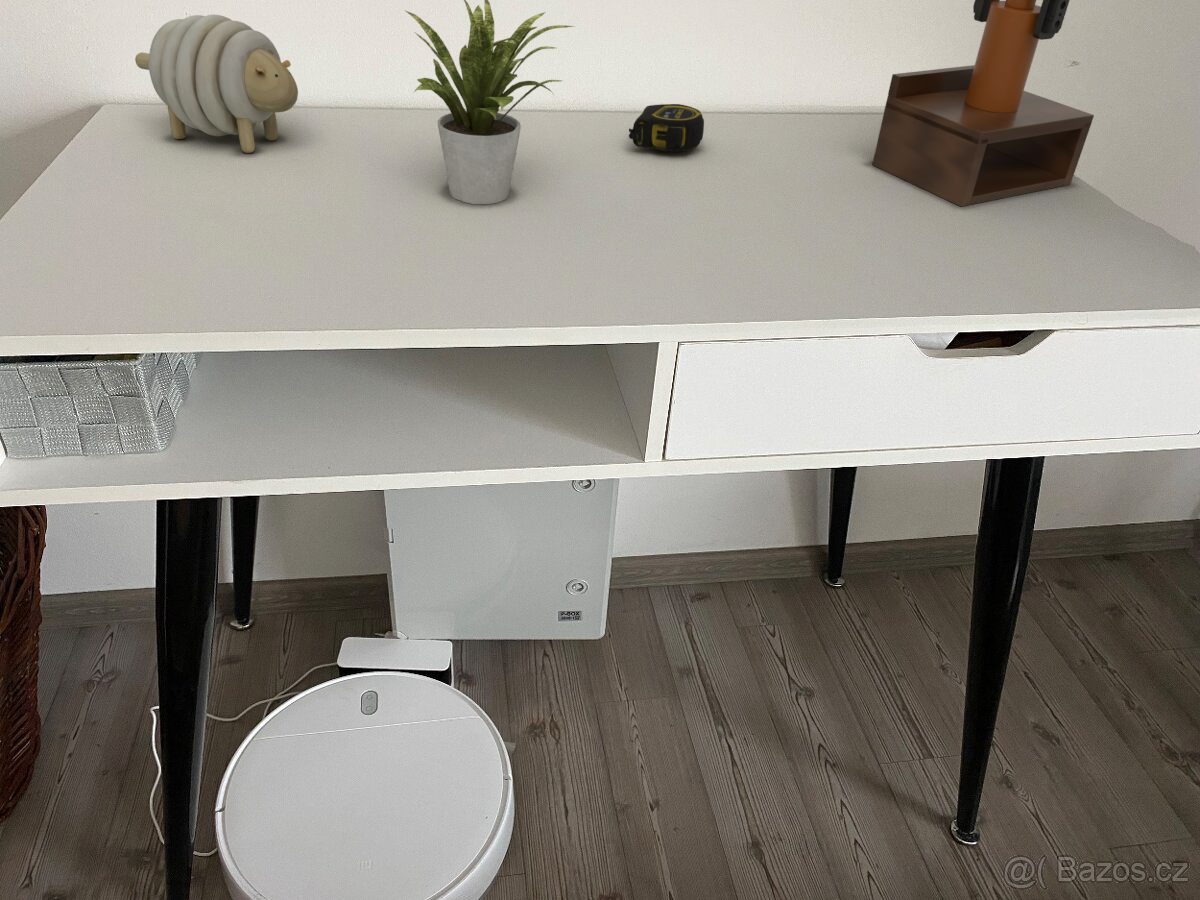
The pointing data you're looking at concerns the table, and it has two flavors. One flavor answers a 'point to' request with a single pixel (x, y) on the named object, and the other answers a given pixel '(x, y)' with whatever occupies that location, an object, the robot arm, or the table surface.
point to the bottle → (1004, 56)
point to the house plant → (480, 106)
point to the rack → (975, 139)
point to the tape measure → (668, 127)
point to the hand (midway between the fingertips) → (1012, 28)
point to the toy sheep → (219, 77)
